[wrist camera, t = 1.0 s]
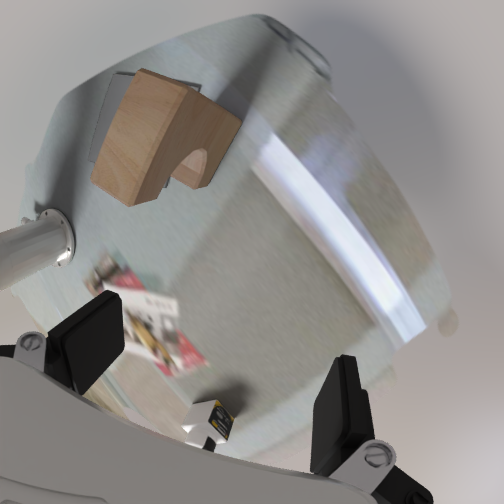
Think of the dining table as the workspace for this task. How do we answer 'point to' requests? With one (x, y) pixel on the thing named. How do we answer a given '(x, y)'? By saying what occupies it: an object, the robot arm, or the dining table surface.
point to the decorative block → (161, 139)
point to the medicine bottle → (207, 425)
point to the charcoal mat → (111, 112)
